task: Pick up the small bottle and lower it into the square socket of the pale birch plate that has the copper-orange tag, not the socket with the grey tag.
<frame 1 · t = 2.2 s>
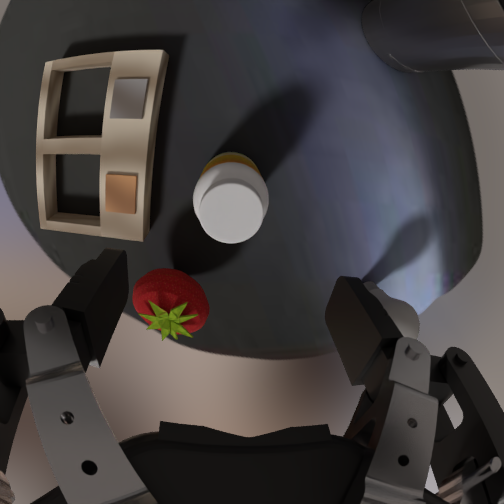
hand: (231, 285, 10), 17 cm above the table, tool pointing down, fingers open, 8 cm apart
lightbulb: (363, 285, 32), on the table
strawberry: (179, 271, 30), on the table
socket plate: (96, 142, 22), on the table
supplement bottle: (230, 179, 25), on the table
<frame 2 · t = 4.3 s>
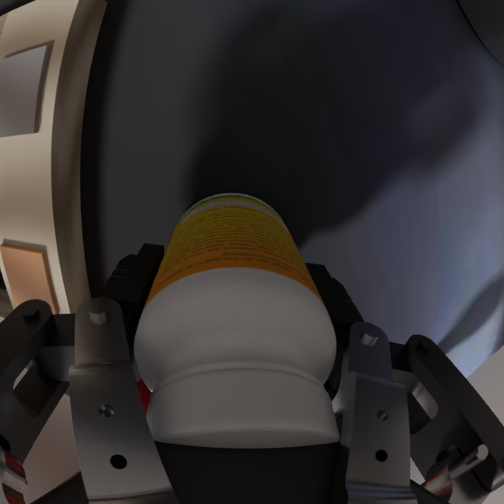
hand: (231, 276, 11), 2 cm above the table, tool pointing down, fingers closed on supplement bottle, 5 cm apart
lightbulb: (416, 369, 20), on the table
supplement bottle: (230, 245, 13), on the table, touching gripper
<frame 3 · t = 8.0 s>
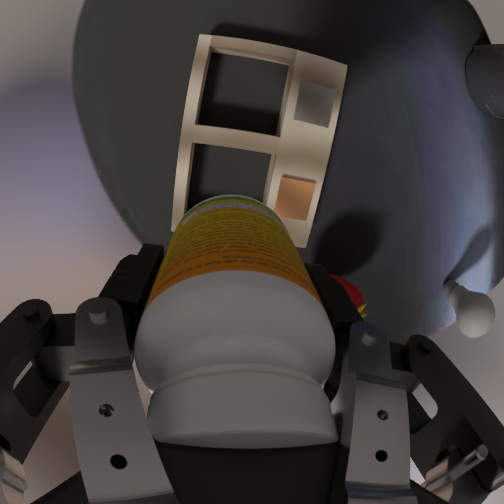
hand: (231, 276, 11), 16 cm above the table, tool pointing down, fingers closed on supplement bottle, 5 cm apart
lightbulb: (445, 283, 34), on the table
strawberry: (316, 276, 31), on the table
socket plate: (254, 140, 23), on the table
supplement bottle: (230, 246, 13), point 14 cm above the table, touching gripper
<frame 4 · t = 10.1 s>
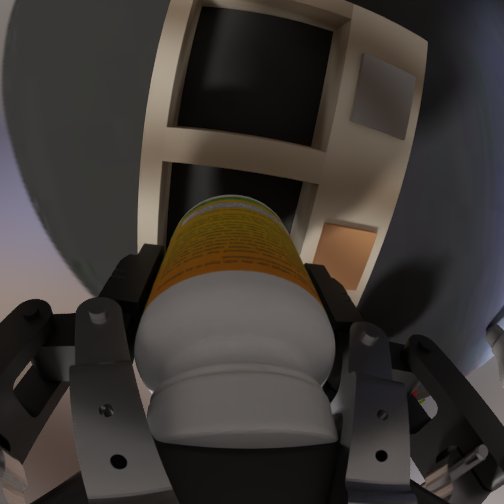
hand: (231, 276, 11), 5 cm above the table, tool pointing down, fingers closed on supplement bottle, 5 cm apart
lightbulb: (487, 327, 24), on the table
socket plate: (276, 153, 14), on the table
supplement bottle: (230, 246, 13), point 3 cm above the table, touching gripper
when the fingers open (3 cm above the table, at t = 11.9 s): supplement bottle stays where it is, resting in socket plate.
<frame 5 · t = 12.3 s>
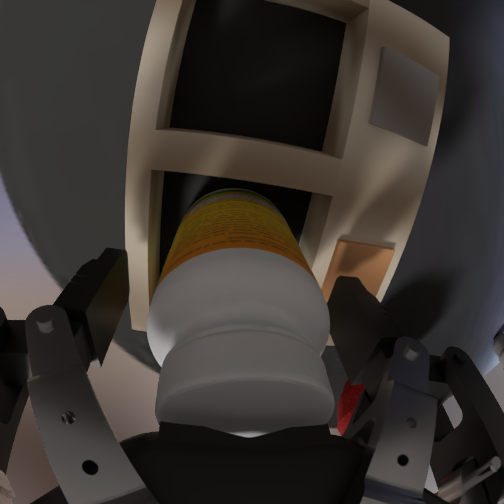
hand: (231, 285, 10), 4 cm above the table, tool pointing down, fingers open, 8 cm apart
lightbulb: (495, 336, 22), on the table
strawberry: (359, 360, 20), on the table
socket plate: (282, 159, 12), on the table
supplement bottle: (232, 237, 14), resting in socket plate
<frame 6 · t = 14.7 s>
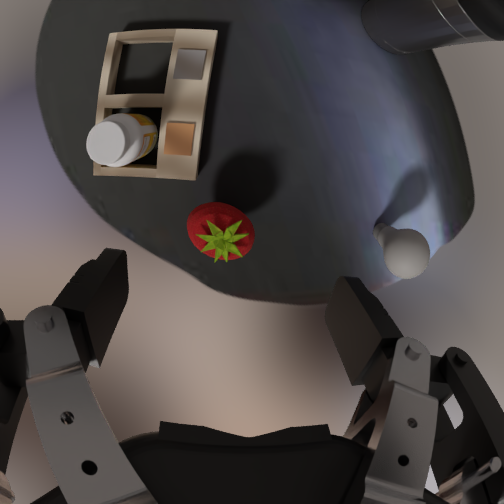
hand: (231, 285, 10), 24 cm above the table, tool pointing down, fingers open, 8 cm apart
lightbulb: (377, 228, 37), on the table
strawberry: (221, 214, 34), on the table
socket plate: (153, 101, 27), on the table
supplement bottle: (137, 135, 29), resting in socket plate
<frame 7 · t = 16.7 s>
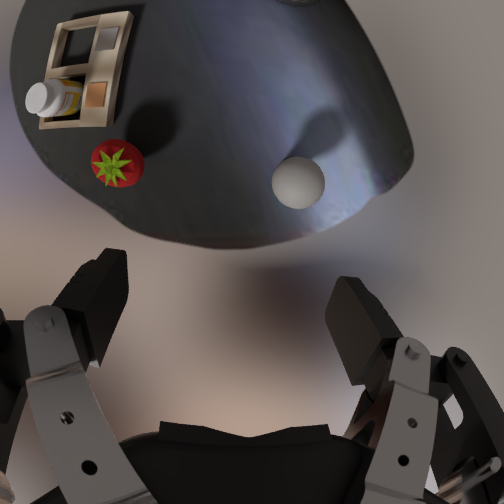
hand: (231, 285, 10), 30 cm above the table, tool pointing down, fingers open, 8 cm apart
lightbulb: (284, 169, 38), on the table
strawberry: (131, 156, 35), on the table
socket plate: (85, 71, 28), on the table
supplement bottle: (73, 98, 29), resting in socket plate
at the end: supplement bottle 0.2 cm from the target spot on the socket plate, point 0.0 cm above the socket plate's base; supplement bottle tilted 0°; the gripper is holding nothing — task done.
